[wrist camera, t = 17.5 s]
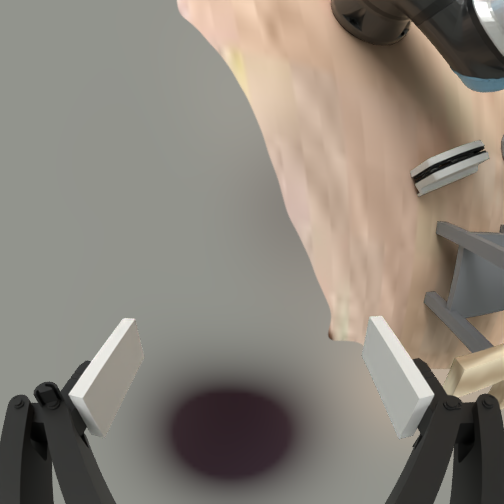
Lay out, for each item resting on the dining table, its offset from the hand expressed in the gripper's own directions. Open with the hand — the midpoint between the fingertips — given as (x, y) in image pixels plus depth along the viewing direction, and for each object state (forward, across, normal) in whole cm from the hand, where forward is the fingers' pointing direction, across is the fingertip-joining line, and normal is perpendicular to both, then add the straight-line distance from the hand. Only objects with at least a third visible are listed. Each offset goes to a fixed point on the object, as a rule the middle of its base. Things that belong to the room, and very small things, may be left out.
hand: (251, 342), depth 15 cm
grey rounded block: (+35, +36, +11) cm, 51 cm away
